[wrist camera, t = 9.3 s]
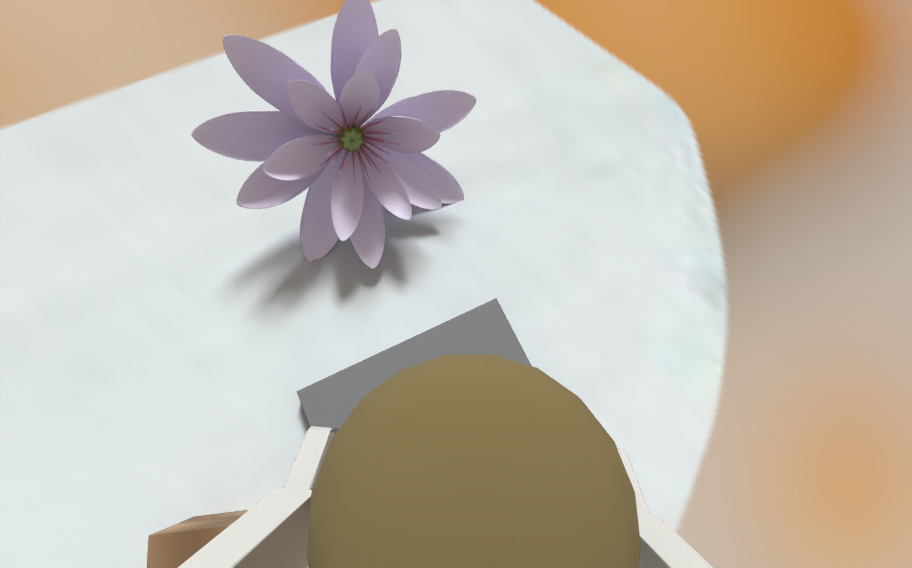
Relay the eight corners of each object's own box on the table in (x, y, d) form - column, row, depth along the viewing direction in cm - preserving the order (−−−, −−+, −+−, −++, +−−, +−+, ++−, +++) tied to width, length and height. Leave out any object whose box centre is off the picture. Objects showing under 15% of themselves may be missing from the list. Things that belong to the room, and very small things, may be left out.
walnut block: (191, 604, 23) (142, 642, 19) (195, 516, 24) (148, 535, 20) (274, 593, 23) (241, 628, 19) (273, 506, 24) (242, 523, 20)
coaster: (389, 615, 23) (387, 626, 22) (302, 392, 26) (296, 391, 25) (595, 499, 25) (603, 503, 24) (493, 303, 28) (496, 298, 26)
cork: (342, 423, 17) (173, 436, 6) (487, 347, 18) (559, 243, 7) (416, 591, 15) (363, 983, 5) (569, 499, 16) (812, 652, 6)
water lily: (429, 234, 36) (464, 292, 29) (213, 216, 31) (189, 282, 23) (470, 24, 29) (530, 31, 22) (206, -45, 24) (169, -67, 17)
